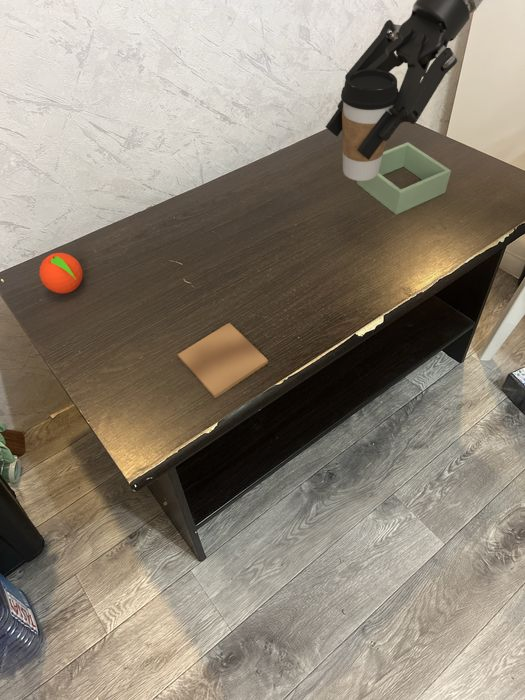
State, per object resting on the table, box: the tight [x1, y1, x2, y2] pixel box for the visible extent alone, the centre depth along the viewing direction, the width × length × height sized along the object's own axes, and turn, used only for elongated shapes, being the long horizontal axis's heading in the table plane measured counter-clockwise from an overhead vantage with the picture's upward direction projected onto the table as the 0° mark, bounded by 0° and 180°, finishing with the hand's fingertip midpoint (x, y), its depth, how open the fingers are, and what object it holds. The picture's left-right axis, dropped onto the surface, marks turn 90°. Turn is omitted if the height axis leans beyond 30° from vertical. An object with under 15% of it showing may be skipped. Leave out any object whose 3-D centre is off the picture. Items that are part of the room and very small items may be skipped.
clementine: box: [39, 252, 84, 294], centre depth 86 cm, size 8×7×7 cm
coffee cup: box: [340, 69, 399, 182], centre depth 78 cm, size 8×8×15 cm
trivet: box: [177, 322, 269, 399], centre depth 77 cm, size 10×10×1 cm
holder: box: [356, 142, 452, 216], centre depth 100 cm, size 13×13×5 cm
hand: (346, 143), depth 78 cm, fingers closed on coffee cup, 8 cm apart
